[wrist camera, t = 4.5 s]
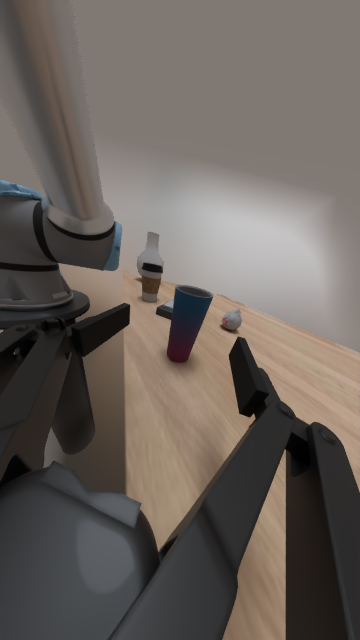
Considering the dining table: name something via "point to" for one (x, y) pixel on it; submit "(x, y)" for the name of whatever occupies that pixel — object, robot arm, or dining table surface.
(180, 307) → the cup
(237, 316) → the figurine
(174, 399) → the dining table surface
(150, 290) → the coffee cup
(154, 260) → the vase
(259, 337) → the dining table surface
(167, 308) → the scale
